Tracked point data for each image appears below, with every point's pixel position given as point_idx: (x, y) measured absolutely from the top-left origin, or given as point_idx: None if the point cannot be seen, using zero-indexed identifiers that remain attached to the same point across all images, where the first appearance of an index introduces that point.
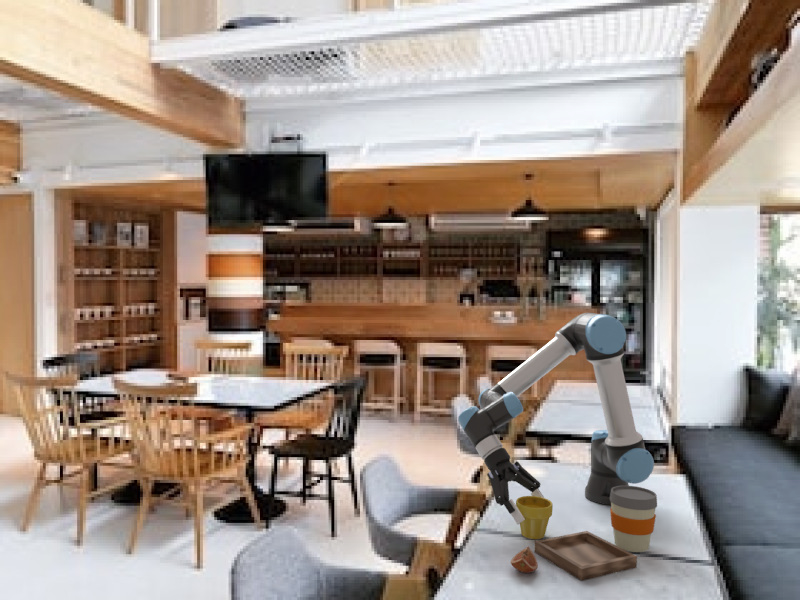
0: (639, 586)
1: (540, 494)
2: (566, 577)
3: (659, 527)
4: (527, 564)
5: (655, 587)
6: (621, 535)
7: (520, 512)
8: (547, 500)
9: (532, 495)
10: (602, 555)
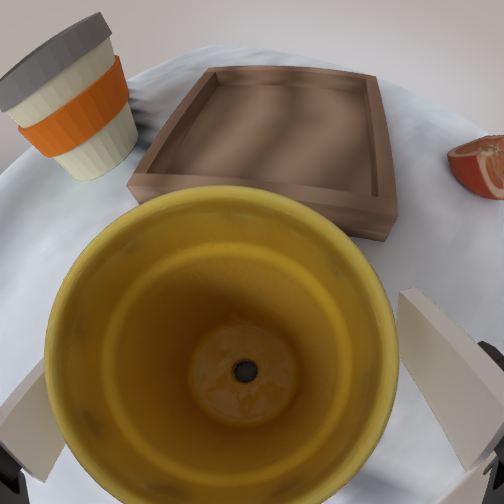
0: (284, 62)
1: (18, 396)
2: (393, 117)
3: (7, 195)
4: (489, 136)
5: (264, 57)
6: (124, 115)
7: (429, 318)
8: (65, 299)
9: (47, 466)
10: (229, 115)
